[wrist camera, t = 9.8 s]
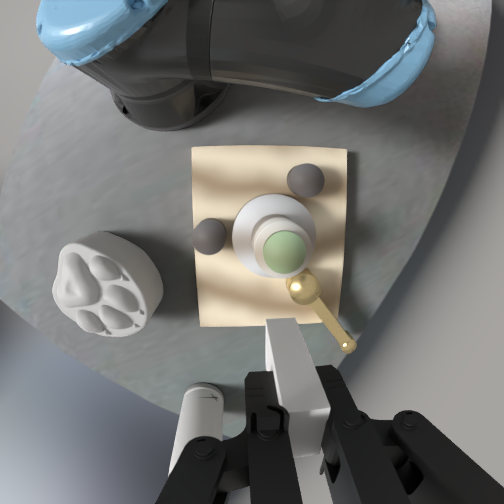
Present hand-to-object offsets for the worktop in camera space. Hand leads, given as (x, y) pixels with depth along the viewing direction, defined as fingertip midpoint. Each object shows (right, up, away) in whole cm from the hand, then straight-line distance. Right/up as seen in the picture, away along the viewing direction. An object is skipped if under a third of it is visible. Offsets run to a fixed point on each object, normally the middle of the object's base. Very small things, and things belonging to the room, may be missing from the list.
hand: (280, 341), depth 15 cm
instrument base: (+1, +6, +21) cm, 22 cm away
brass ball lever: (+7, -3, +22) cm, 23 cm away
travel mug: (-9, -18, +27) cm, 34 cm away
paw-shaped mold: (-19, +1, +22) cm, 29 cm away
